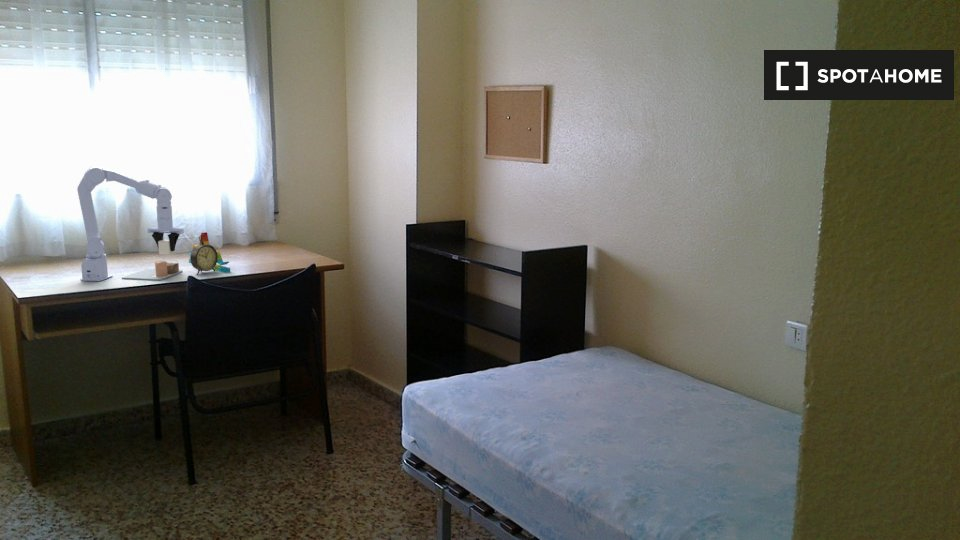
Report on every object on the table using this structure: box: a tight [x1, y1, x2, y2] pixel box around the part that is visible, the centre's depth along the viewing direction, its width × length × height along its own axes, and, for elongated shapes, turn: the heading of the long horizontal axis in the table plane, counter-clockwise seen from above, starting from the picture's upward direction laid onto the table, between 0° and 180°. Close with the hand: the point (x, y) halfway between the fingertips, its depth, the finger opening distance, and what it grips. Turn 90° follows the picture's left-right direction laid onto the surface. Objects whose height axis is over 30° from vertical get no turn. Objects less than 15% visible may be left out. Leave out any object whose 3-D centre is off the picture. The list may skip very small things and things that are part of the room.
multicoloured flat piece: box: [188, 231, 231, 274], centre depth 335 cm, size 30×3×15 cm, turn 47°
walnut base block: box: [167, 262, 180, 274], centre depth 321 cm, size 6×6×4 cm
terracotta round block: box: [154, 260, 168, 277], centre depth 314 cm, size 4×4×6 cm
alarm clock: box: [189, 233, 218, 276], centre depth 323 cm, size 11×5×16 cm, turn 148°
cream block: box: [157, 239, 176, 256], centre depth 319 cm, size 4×4×6 cm
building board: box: [121, 268, 183, 282], centre depth 318 cm, size 18×16×1 cm
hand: (166, 250), depth 319 cm, fingers closed on cream block, 4 cm apart
